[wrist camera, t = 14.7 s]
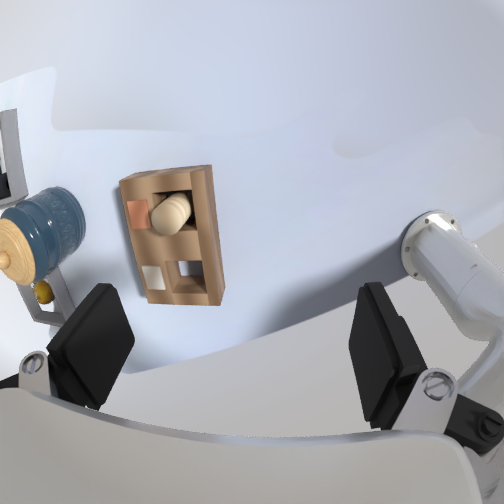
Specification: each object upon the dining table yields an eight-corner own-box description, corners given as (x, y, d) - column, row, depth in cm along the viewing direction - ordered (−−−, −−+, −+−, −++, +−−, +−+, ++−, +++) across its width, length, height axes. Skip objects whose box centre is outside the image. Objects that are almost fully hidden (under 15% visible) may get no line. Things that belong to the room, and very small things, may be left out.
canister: (99, 226, 43) (34, 280, 27) (67, 261, 47) (13, 313, 31) (59, 170, 38) (-15, 204, 23) (31, 212, 42) (-29, 252, 27)
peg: (196, 186, 39) (179, 203, 32) (199, 213, 41) (184, 234, 34) (170, 188, 39) (148, 205, 32) (174, 214, 41) (154, 235, 34)
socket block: (211, 164, 37) (202, 171, 33) (225, 287, 46) (219, 307, 41) (134, 173, 38) (117, 181, 34) (158, 286, 47) (147, 304, 43)
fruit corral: (58, 266, 48) (48, 274, 44) (80, 319, 54) (72, 329, 51) (20, 265, 49) (11, 272, 46) (41, 313, 55) (34, 321, 52)
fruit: (30, 266, 49) (20, 274, 46) (54, 280, 50) (45, 289, 47) (33, 293, 53) (25, 301, 49) (57, 306, 54) (49, 316, 50)
